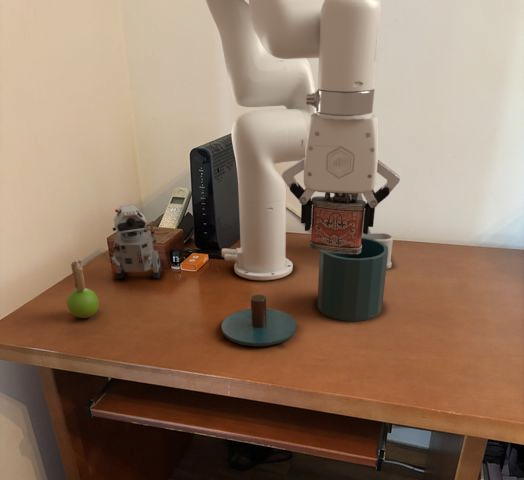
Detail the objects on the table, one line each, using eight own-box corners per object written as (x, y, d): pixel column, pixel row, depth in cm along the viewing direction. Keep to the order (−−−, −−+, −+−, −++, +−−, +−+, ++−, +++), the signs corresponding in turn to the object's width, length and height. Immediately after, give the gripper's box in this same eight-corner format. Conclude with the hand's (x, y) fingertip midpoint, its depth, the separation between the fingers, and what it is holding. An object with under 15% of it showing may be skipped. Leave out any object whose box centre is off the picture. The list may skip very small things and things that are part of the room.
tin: (314, 318, 98) (317, 257, 92) (320, 291, 108) (322, 235, 102) (382, 323, 96) (388, 261, 90) (381, 295, 106) (387, 237, 100)
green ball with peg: (74, 328, 96) (60, 263, 90) (67, 313, 101) (54, 252, 95) (105, 321, 98) (94, 258, 92) (97, 307, 103) (85, 246, 97)
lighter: (363, 247, 85) (369, 182, 79) (359, 255, 82) (365, 188, 77) (312, 241, 87) (315, 178, 82) (307, 249, 84) (309, 183, 79)
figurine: (110, 291, 109) (97, 217, 102) (122, 269, 119) (111, 200, 112) (155, 290, 109) (146, 216, 102) (163, 268, 119) (156, 200, 112)
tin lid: (213, 346, 90) (211, 312, 87) (231, 311, 101) (229, 280, 98) (291, 352, 88) (291, 317, 85) (300, 316, 99) (301, 284, 96)
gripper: (276, 107, 72) (275, 235, 81) (412, 109, 69) (395, 241, 78) (284, 99, 78) (283, 218, 87) (409, 101, 75) (394, 224, 85)
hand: (336, 229), depth 83 cm, fingers closed on lighter, 8 cm apart
